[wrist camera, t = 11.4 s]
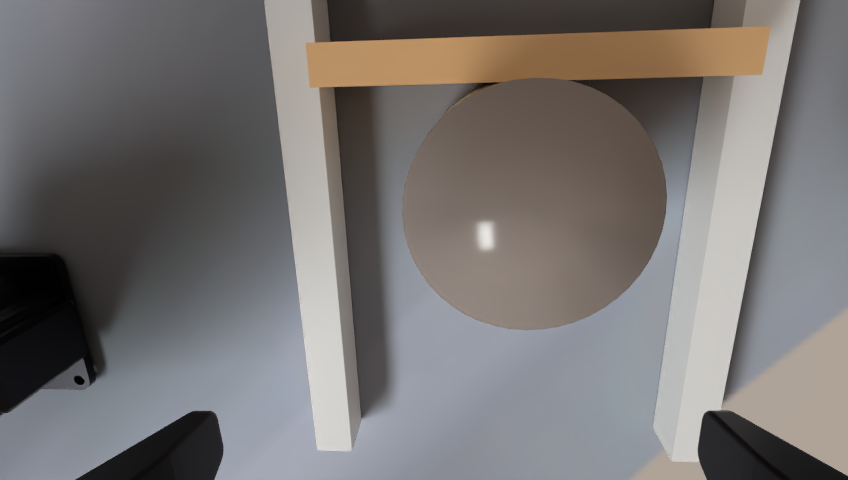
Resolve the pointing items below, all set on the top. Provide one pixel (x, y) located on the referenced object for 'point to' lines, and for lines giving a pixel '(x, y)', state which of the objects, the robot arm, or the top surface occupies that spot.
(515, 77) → the bar
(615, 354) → the top surface
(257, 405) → the top surface
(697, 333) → the lane
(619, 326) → the top surface
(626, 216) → the jar
